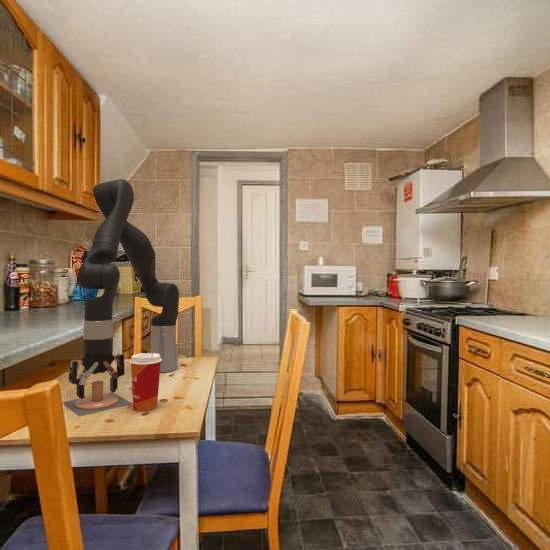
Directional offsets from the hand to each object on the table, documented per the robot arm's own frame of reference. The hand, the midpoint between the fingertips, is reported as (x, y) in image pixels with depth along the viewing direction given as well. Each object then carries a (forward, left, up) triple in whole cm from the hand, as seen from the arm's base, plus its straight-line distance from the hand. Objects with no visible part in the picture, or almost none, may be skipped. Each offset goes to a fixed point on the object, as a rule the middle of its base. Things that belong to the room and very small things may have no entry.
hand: (97, 394), depth 108 cm
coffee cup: (-8, +12, -3) cm, 15 cm away
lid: (0, 0, -2) cm, 2 cm away
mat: (0, 0, -3) cm, 3 cm away
